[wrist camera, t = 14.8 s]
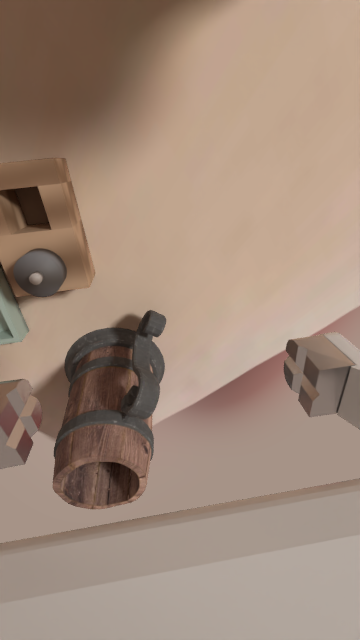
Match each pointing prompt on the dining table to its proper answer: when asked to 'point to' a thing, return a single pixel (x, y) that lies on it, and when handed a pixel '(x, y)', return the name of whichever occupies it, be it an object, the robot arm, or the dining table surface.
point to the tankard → (109, 415)
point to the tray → (10, 315)
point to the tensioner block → (42, 231)
